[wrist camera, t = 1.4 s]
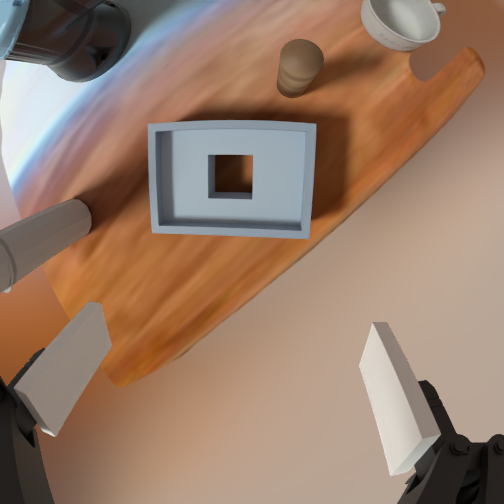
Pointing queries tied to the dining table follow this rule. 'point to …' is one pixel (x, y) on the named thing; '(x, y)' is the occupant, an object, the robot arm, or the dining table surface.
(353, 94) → the dining table surface
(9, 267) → the water bottle
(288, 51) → the peg
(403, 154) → the dining table surface
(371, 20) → the teacup
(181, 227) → the box
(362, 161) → the dining table surface
